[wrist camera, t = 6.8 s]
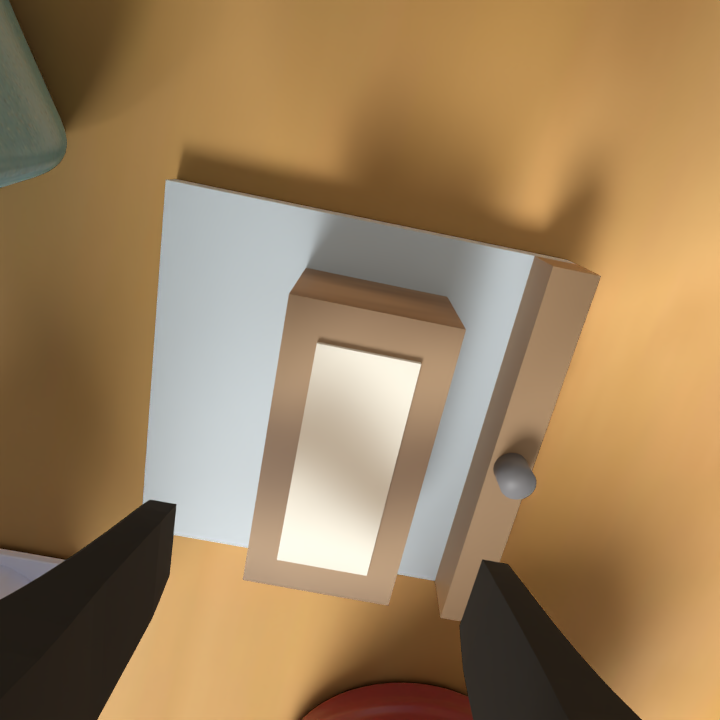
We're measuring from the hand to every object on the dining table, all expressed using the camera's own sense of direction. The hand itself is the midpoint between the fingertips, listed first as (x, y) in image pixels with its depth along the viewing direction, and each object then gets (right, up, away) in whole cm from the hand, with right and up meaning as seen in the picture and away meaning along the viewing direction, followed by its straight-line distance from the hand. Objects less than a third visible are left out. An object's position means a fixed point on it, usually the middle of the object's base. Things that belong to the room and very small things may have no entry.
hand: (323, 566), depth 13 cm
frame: (0, +3, +8) cm, 8 cm away
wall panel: (0, +3, +9) cm, 9 cm away
